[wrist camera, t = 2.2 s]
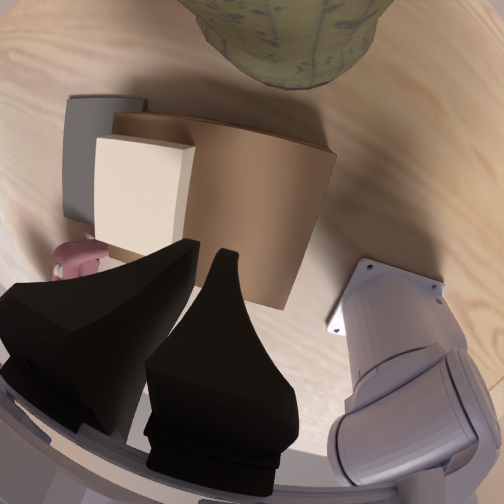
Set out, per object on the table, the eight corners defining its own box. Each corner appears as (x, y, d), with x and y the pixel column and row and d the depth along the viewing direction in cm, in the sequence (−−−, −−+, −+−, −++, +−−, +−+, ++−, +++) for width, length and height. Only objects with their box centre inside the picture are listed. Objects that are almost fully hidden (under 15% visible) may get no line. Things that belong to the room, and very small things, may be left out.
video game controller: (98, 225, 25) (40, 245, 20) (118, 241, 23) (51, 266, 18) (108, 298, 30) (62, 321, 24) (128, 319, 28) (77, 346, 22)
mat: (146, 99, 17) (144, 99, 17) (133, 236, 23) (131, 237, 22) (70, 98, 17) (67, 99, 17) (66, 215, 23) (63, 216, 23)
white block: (195, 146, 15) (183, 149, 13) (181, 250, 18) (170, 263, 16) (113, 134, 15) (96, 137, 13) (109, 229, 18) (95, 239, 16)
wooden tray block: (328, 148, 17) (337, 155, 14) (286, 280, 22) (283, 310, 19) (144, 111, 18) (114, 112, 14) (133, 236, 23) (108, 256, 19)
